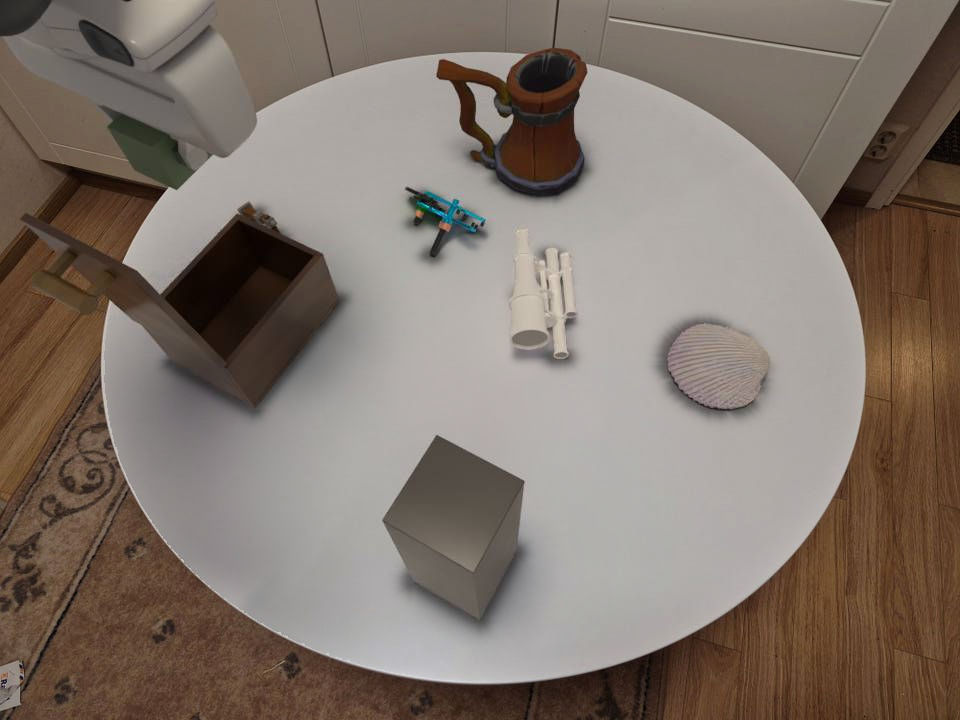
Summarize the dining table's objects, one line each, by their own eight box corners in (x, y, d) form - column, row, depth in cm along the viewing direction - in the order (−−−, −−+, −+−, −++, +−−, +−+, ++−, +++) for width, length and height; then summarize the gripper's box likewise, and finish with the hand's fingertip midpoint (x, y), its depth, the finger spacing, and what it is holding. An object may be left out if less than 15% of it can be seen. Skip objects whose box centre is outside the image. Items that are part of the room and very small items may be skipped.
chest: (261, 262, 80) (236, 212, 73) (340, 300, 77) (323, 253, 70) (172, 362, 74) (136, 319, 66) (255, 408, 71) (226, 368, 63)
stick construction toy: (500, 220, 80) (460, 199, 74) (475, 275, 81) (433, 258, 75) (433, 191, 87) (391, 168, 80) (411, 241, 88) (368, 223, 82)
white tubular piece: (538, 265, 82) (573, 244, 78) (546, 367, 75) (584, 350, 72) (491, 236, 77) (526, 212, 73) (496, 343, 70) (534, 323, 67)
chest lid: (25, 212, 51) (-17, 254, 50) (137, 270, 49) (96, 317, 47) (136, 314, 66) (106, 349, 65) (227, 363, 63) (198, 401, 62)
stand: (479, 620, 60) (473, 573, 43) (413, 581, 62) (381, 520, 45) (516, 551, 63) (525, 480, 46) (451, 515, 65) (436, 434, 48)
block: (177, 190, 53) (151, 147, 49) (134, 170, 54) (106, 126, 50) (214, 153, 55) (192, 109, 51) (172, 135, 56) (148, 90, 52)
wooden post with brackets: (284, 253, 80) (264, 222, 77) (255, 238, 85) (235, 207, 82) (296, 245, 80) (277, 213, 77) (267, 229, 86) (248, 199, 83)
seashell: (789, 399, 67) (695, 388, 65) (759, 420, 72) (670, 409, 70) (772, 311, 72) (684, 298, 70) (745, 336, 77) (661, 324, 75)
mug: (437, 190, 85) (426, 91, 72) (450, 126, 91) (443, 23, 78) (580, 202, 84) (596, 103, 71) (585, 136, 89) (601, 33, 76)
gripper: (-85, -41, 43) (43, 130, 55) (159, 60, 38) (241, 224, 50) (-6, -91, 45) (99, 83, 57) (232, -3, 40) (293, 168, 52)
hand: (166, 149), depth 53 cm, fingers closed on block, 4 cm apart
